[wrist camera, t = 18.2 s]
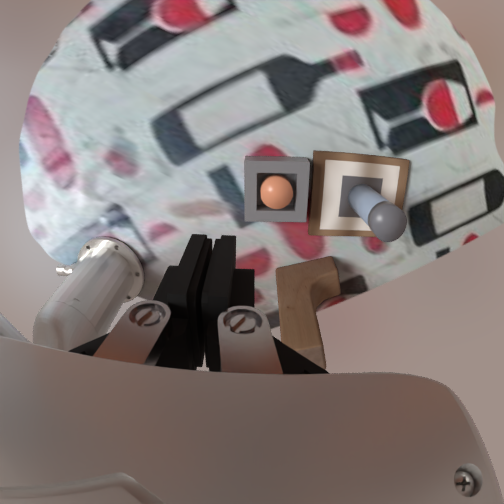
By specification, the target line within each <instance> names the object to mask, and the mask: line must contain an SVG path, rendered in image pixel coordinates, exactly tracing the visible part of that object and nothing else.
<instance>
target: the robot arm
mask: <svg viewBox="0 0 504 504" xmlns="http://www.w3.org/2000/svg"><path fill="white" fill-rule="evenodd" d="M235 266H236V236H228V235H222V236H221V239H216V240H215V244H214V248H213V251H212V239H208V238H207V235H200V234H192V236H191V238H190V240H189V242H188V245H187V247H186V249H185V252H184V254H183V256H182V258H181V261H180V263H179V266H169V267H168V269H167V271H166V273H165V275H164V277H163V279H162V281H161V284H160V286H159V288H158V290H157V292H156V294H155V297H154V299H153V300H147V301H141V302H138V303H136V304H134V305H132V306H131V307H130V308H129V309H128V310H127V311H126V312H125V313H124V315H123V316H122V317H121V318H120V320H119V321H118V322H117V324H116V325H115V327H114V328H113V329H112V331H111V332H110V333H108V334H106V333H107V331H108V329H109V327H110V326H111V323H112V322H113V320H114V318H115V317H116V315H117V313H118V311H119V309H120V308H121V306H122V304H123V303H125V302H128V301H131V300H133V299H134V298H135V297H137V295H138V294H139V293H140V291H141V289H142V287H143V283H144V272H143V268H142V265H141V263H140V261H139V259H138V257H137V256H136V255H135V253H134V252H133V251H132V250H131V249H130V248H129V247H128V246H127V245H125V244H124V243H122V242H120V241H118V240H116V239H114V238H110V237H96V238H93V239H91V240H89V241H88V242H87V243H86V244H85V245H84V246H83V247H82V248H81V250H80V252H79V254H78V260H77V263H73V264H71V265H58V266H57V270H56V271H57V274H58V275H60V276H68V277H67V278H66V279H65V280H64V282H63V283H62V284H61V285H60V286H59V287H58V289H57V290H56V291H55V292H54V293H53V295H52V296H51V297H50V298H49V300H48V301H47V302H46V303H45V305H44V306H43V307H42V308H41V310H40V311H39V313H38V314H37V316H36V319H35V322H34V326H33V343H31V342H30V341H28V340H27V339H26V338H25V337H24V336H23V335H22V334H21V333H20V332H19V331H18V330H17V329H16V328H15V327H14V326H13V325H12V324H11V323H10V322H9V321H8V320H7V319H6V318H5V317H4V316H3V315H2V314H1V313H0V504H504V500H503V497H502V494H501V490H500V487H499V483H498V480H497V477H496V474H495V471H494V468H493V465H492V462H491V459H490V457H489V454H488V452H487V449H486V447H485V444H484V442H483V440H482V438H481V436H480V433H479V431H478V429H477V427H476V425H475V423H474V421H473V419H472V417H471V416H470V414H469V412H468V411H467V409H466V407H465V406H464V404H463V403H462V402H461V400H460V399H459V397H458V396H457V395H456V394H455V393H454V392H453V391H452V390H451V389H450V388H449V387H447V386H446V385H444V384H442V383H440V382H438V381H435V380H432V379H429V378H425V377H421V376H416V375H411V374H401V373H391V372H389V373H386V372H368V373H339V374H338V373H334V374H333V373H332V374H330V373H328V372H327V371H326V370H325V369H323V368H321V367H320V366H318V365H317V364H315V363H313V362H312V361H310V360H309V359H307V358H306V357H304V356H302V355H301V354H299V353H298V352H296V351H295V350H293V349H292V348H290V347H288V346H287V345H285V344H284V343H282V342H281V341H279V340H278V339H276V338H275V337H273V336H272V333H271V330H270V326H269V323H268V319H267V317H266V316H265V314H264V313H263V312H261V311H260V310H258V309H256V308H254V269H235ZM204 354H205V357H206V367H208V368H209V371H198V370H196V369H197V367H202V365H203V359H204Z"/></svg>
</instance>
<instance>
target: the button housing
mask: <svg viewBox="0 0 504 504" xmlns="http://www.w3.org/2000/svg"><path fill="white" fill-rule="evenodd" d="M244 171H245V221H261V222H306V216H307V202H308V187H309V171H310V162H309V161H308V159H307V158H306V157H285V156H245V161H244ZM271 174H281V175H283V176H285V177H286V178H287V179H288V180H289V182H290V184H291V187H292V190H293V197H292V200H291V202H290V203H289V204H288V205H287V206H286V207H284V208H281V209H272V208H270V207H268V206H266V205H265V204H264V202H263V201H262V199H261V183H262V181H263V180H264V178H265V177H267V176H268V175H271Z"/></svg>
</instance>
